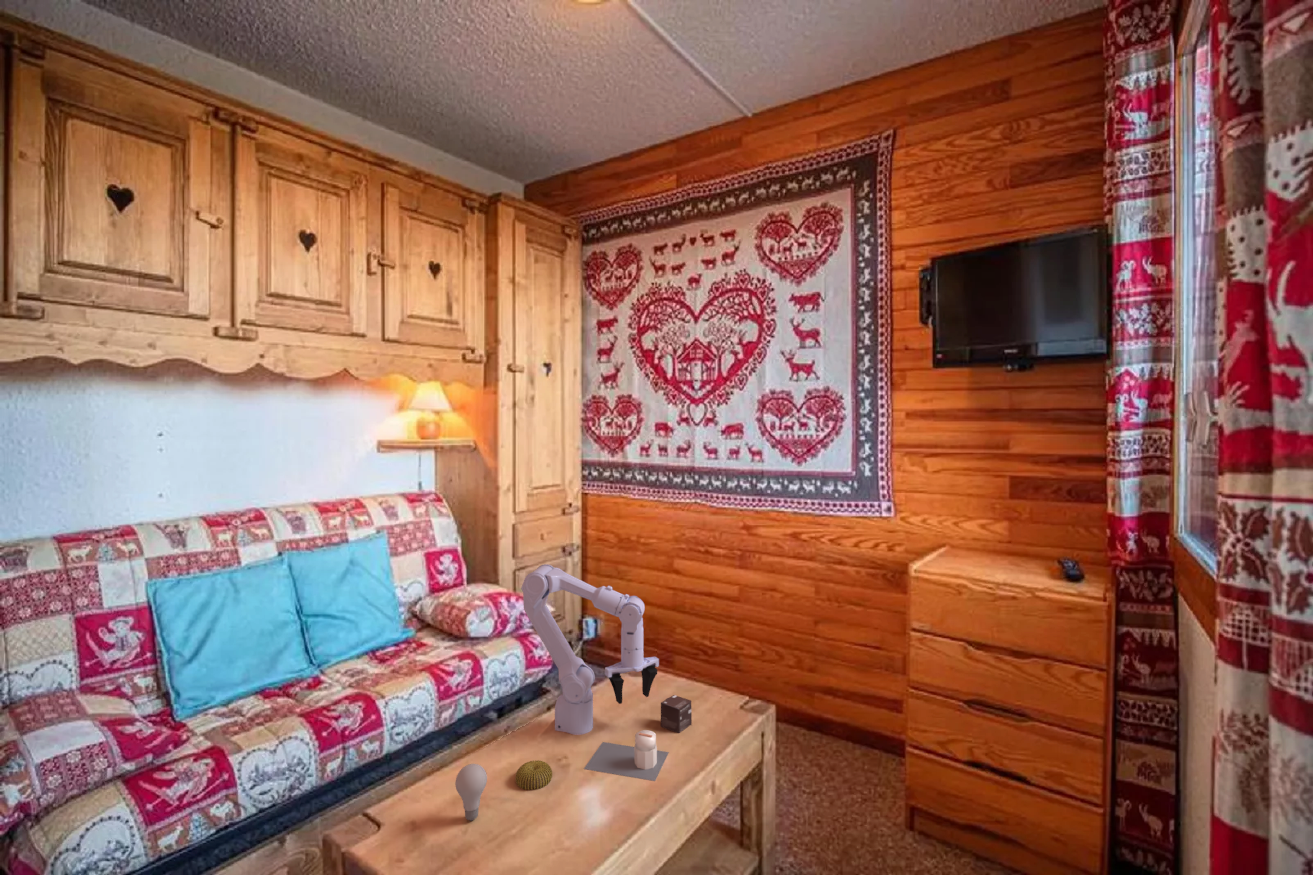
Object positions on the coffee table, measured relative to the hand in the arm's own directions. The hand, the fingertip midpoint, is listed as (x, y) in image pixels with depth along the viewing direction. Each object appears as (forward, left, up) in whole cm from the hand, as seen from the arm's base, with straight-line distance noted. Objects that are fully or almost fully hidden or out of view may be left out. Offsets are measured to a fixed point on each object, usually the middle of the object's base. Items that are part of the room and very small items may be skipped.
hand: (632, 698), depth 153 cm
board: (+3, -13, -9) cm, 16 cm away
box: (+10, +6, -10) cm, 15 cm away
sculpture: (-14, -26, -10) cm, 31 cm away
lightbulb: (-21, -40, -10) cm, 46 cm away
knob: (+8, -13, -8) cm, 17 cm away
